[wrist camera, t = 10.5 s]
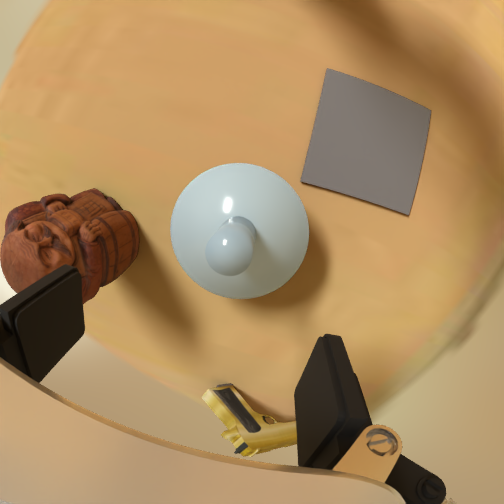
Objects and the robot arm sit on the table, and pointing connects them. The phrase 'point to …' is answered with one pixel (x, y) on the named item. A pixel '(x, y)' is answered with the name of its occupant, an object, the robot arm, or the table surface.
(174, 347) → the table surface
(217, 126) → the table surface
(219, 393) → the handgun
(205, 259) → the lid
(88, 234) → the wooden figurine
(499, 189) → the table surface
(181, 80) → the table surface
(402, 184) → the mat
